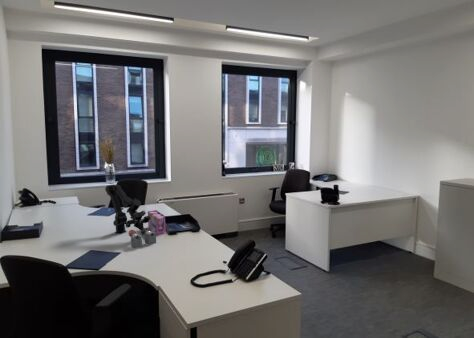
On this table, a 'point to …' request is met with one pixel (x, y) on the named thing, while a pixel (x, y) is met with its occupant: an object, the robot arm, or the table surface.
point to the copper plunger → (132, 233)
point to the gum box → (156, 222)
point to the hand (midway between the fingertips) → (143, 230)
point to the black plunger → (145, 231)
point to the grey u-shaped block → (150, 238)
